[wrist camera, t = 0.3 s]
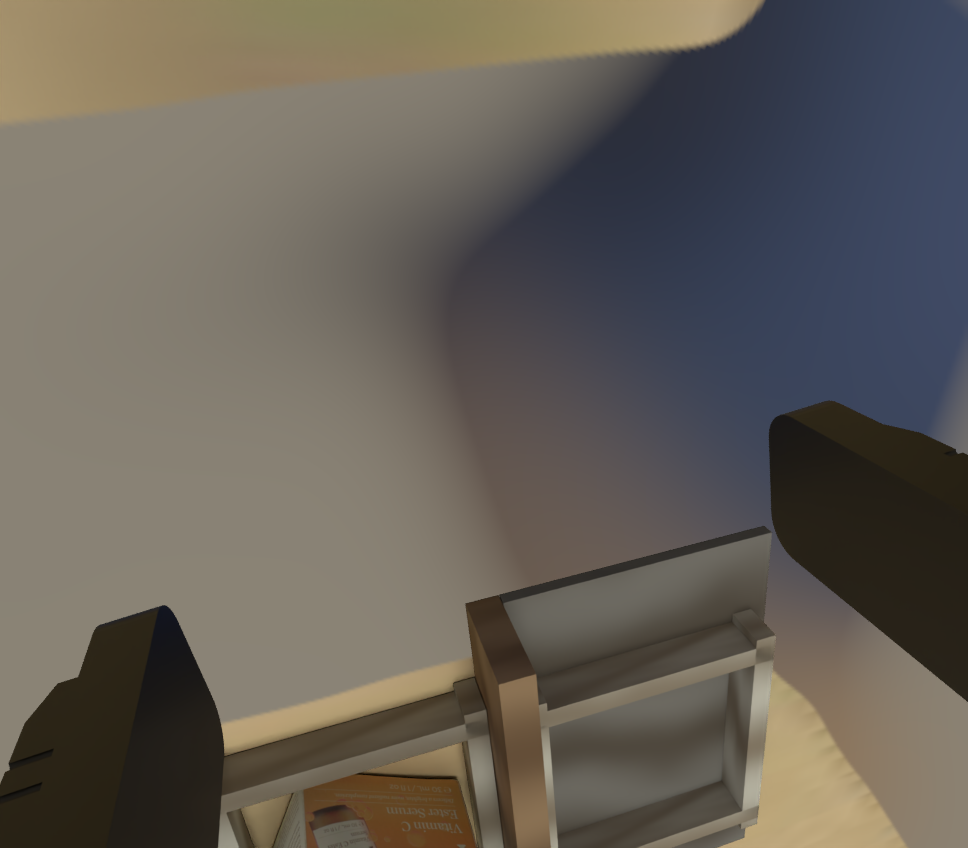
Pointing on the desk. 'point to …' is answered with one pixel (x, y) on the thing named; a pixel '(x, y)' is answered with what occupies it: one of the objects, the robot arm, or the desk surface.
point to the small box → (378, 815)
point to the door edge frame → (581, 710)
